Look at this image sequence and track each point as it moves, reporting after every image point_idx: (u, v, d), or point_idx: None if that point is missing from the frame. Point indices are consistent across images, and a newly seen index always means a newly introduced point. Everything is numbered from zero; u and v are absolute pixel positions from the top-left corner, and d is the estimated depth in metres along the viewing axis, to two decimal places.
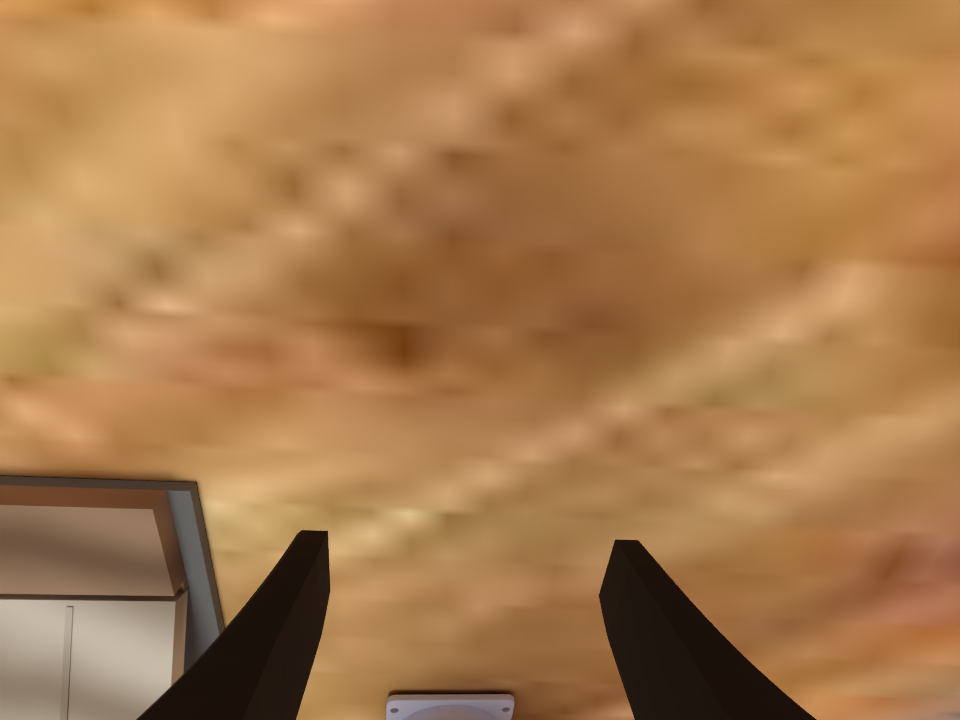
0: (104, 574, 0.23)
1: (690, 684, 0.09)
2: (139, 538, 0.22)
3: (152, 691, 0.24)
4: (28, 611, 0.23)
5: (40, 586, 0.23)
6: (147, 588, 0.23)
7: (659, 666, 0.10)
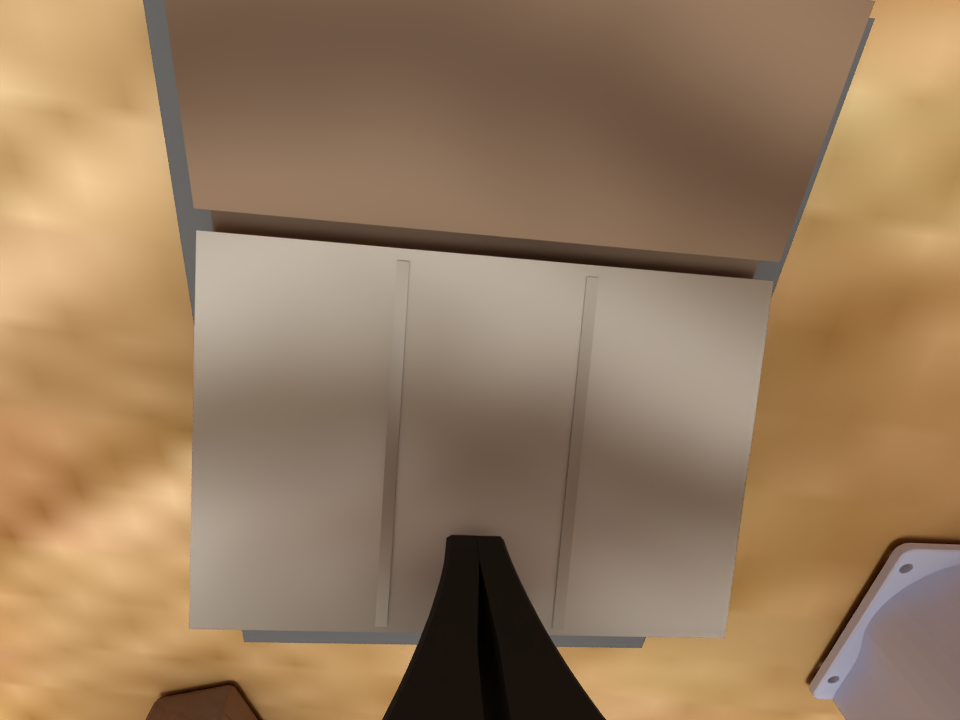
0: (687, 193, 0.11)
1: (499, 684, 0.09)
2: (802, 91, 0.11)
3: (720, 446, 0.13)
4: (519, 282, 0.12)
5: (556, 219, 0.12)
6: (744, 237, 0.12)
7: (489, 665, 0.10)
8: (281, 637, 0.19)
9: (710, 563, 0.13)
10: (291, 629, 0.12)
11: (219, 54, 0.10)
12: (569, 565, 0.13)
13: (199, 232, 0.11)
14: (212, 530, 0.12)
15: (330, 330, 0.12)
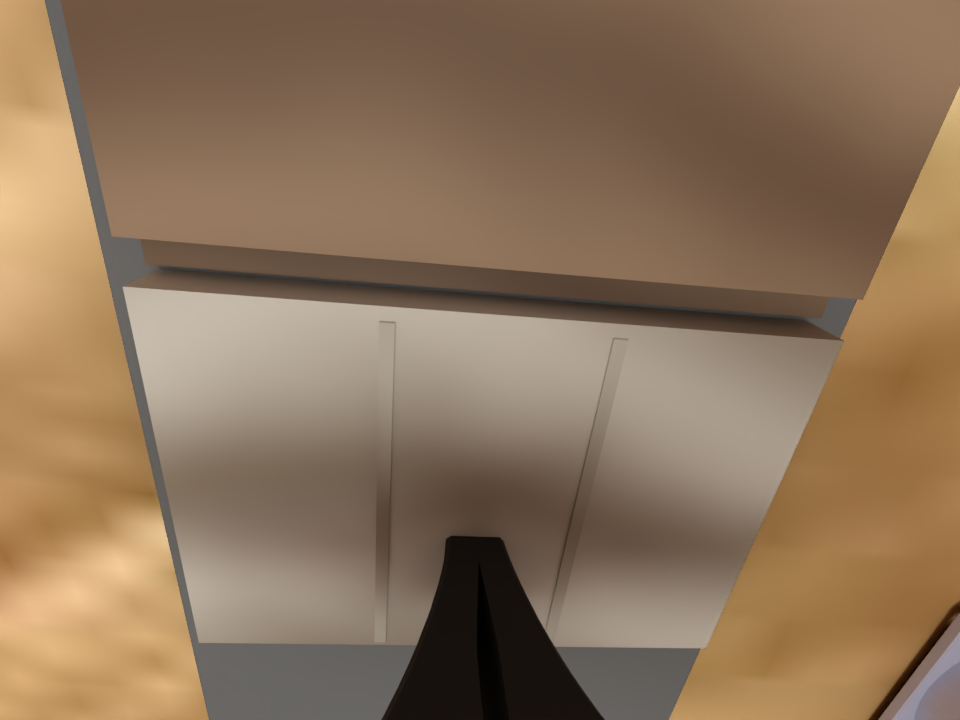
0: (752, 214, 0.09)
1: (498, 684, 0.09)
2: (910, 83, 0.08)
3: (738, 503, 0.12)
4: (529, 344, 0.10)
5: (583, 247, 0.09)
6: (820, 270, 0.09)
7: (488, 665, 0.10)
8: (253, 718, 0.17)
9: (704, 596, 0.13)
10: (295, 642, 0.13)
11: (132, 31, 0.07)
12: (564, 598, 0.13)
13: (127, 289, 0.09)
14: (206, 572, 0.12)
15: (305, 396, 0.10)
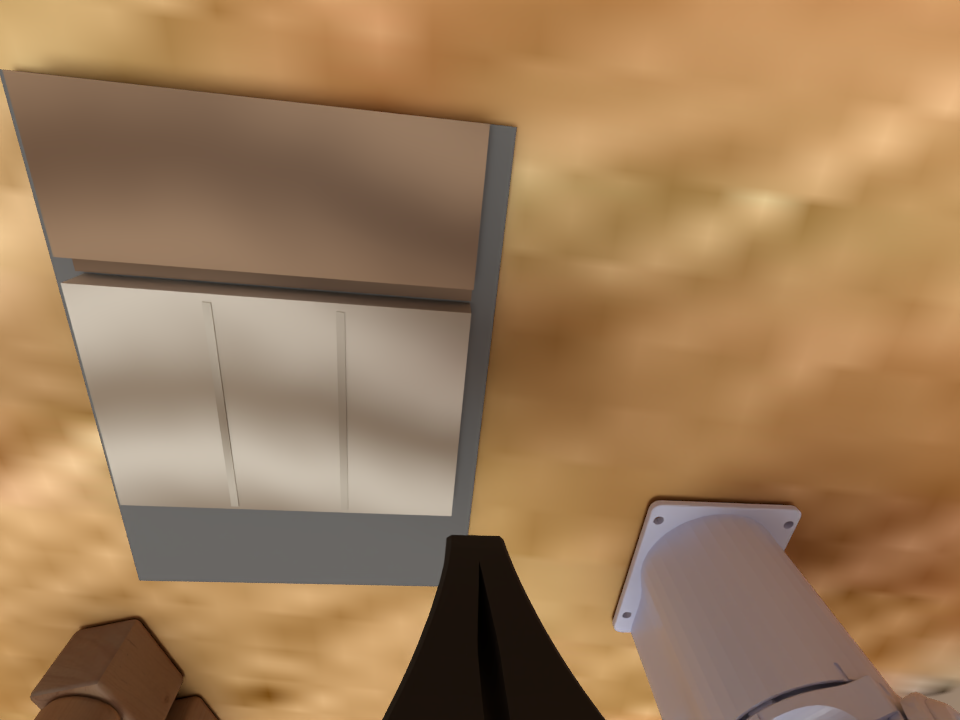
0: (395, 244, 0.17)
1: (499, 684, 0.09)
2: (457, 179, 0.16)
3: (440, 413, 0.20)
4: (289, 315, 0.18)
5: (307, 262, 0.17)
6: (443, 273, 0.17)
7: (488, 665, 0.10)
8: (168, 576, 0.24)
9: (438, 477, 0.21)
10: (181, 506, 0.21)
11: (58, 160, 0.15)
12: (348, 477, 0.21)
13: (62, 284, 0.17)
14: (120, 455, 0.20)
15: (166, 344, 0.18)
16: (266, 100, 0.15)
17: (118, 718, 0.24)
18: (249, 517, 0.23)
